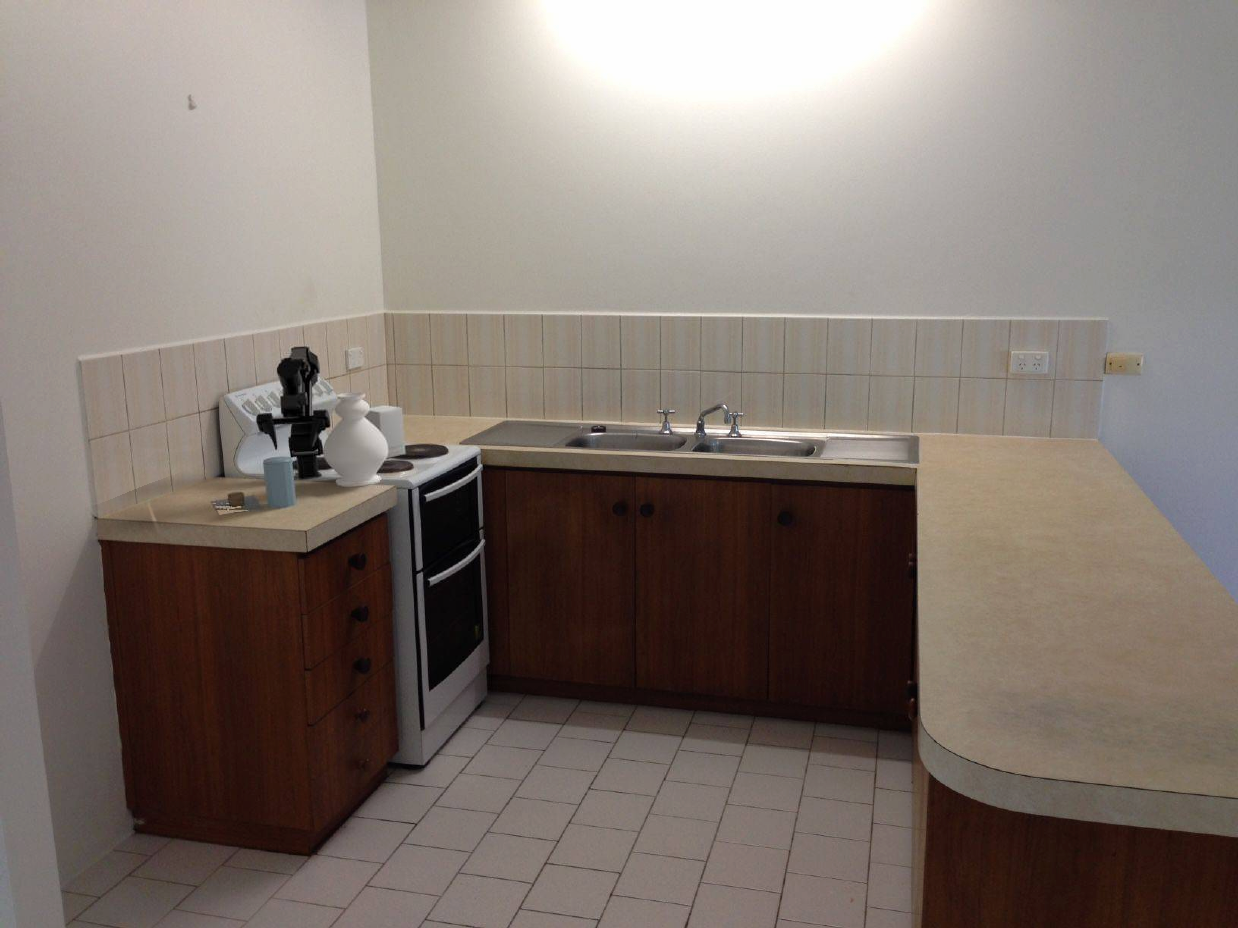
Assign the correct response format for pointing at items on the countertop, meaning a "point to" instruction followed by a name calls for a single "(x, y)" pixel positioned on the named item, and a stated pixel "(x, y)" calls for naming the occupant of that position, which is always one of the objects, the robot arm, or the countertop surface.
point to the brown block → (236, 499)
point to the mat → (249, 505)
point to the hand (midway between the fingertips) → (293, 447)
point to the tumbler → (279, 482)
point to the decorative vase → (355, 443)
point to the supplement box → (389, 427)
